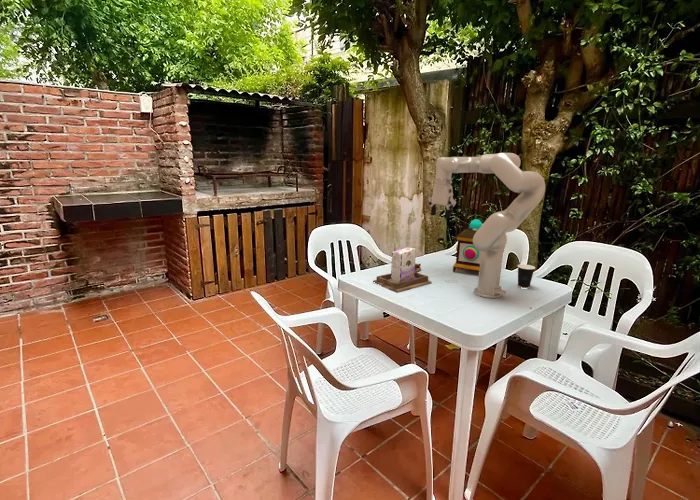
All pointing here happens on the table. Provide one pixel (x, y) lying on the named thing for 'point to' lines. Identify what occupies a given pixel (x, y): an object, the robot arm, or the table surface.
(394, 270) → the candy box
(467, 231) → the decorative lantern
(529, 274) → the dixie cup
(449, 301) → the table surface
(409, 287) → the tray
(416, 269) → the toy sandwich meal
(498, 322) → the table surface
